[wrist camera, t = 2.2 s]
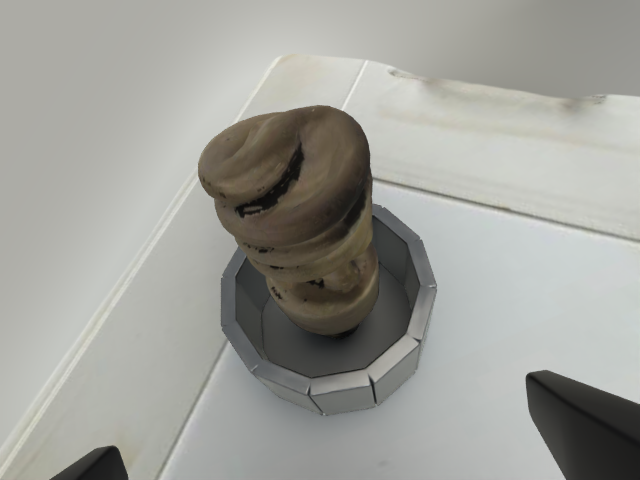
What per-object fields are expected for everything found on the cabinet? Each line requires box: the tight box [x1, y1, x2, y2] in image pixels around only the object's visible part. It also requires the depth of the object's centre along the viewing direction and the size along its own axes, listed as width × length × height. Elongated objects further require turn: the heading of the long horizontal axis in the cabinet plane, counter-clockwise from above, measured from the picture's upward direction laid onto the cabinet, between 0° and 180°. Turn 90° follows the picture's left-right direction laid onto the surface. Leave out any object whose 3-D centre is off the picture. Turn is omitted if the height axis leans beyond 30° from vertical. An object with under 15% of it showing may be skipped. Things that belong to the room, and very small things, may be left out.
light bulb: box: [198, 105, 379, 339], centre depth 18 cm, size 6×6×15 cm
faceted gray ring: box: [221, 204, 437, 416], centre depth 22 cm, size 11×11×5 cm
